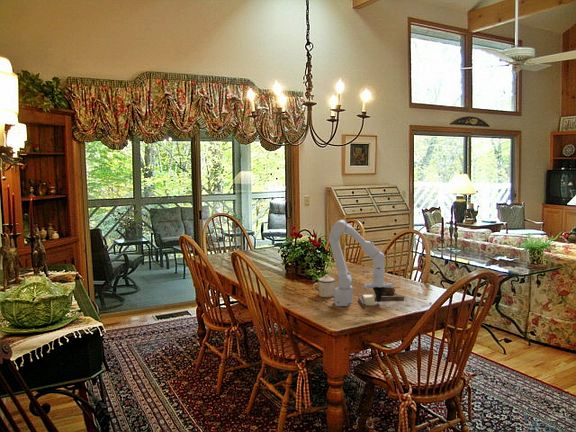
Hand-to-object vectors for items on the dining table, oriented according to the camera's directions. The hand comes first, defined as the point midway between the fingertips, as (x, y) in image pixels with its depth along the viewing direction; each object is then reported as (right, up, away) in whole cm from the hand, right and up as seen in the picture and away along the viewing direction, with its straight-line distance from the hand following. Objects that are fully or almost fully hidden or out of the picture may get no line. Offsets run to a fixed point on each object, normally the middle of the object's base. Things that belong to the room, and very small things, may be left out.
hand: (378, 301), depth 247 cm
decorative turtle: (+7, -1, +17) cm, 18 cm away
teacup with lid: (-26, -1, +22) cm, 34 cm away
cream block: (-5, -1, 0) cm, 5 cm away
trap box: (+4, -3, 0) cm, 5 cm away
